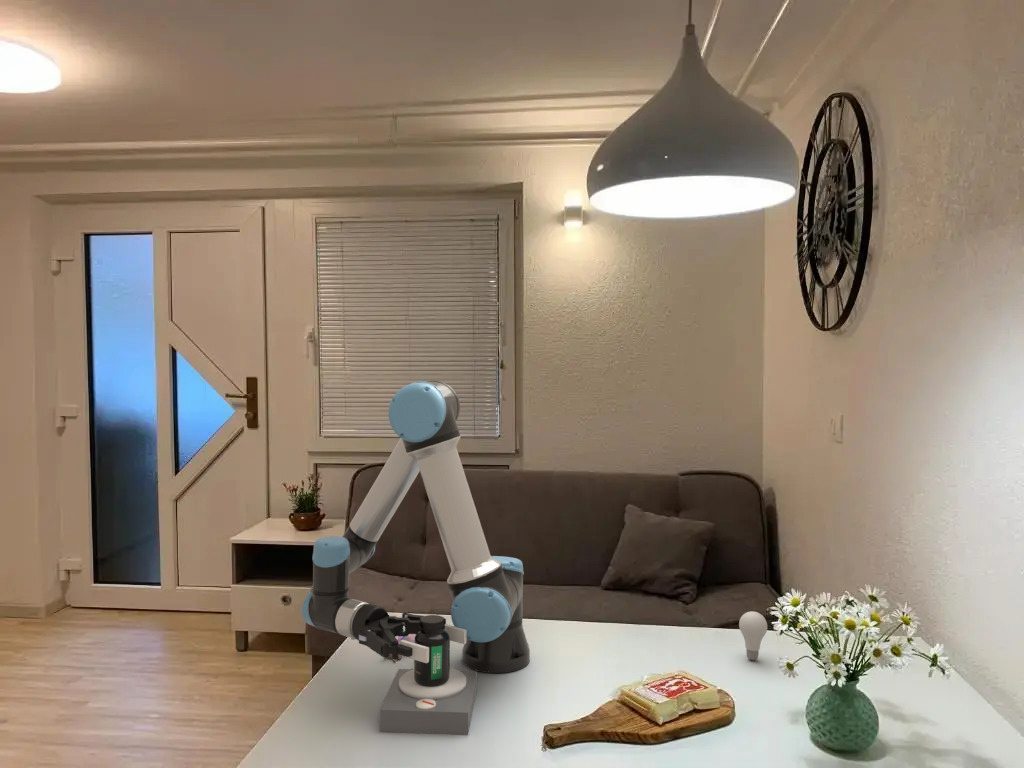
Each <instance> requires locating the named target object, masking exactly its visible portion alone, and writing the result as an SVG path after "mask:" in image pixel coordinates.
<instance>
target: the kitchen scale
mask: <svg viewBox="0 0 1024 768" xmlns="http://www.w3.org/2000/svg"><path fill="white" fill-rule="evenodd" d="M477 676H478V671H477V670H458V669H455V668H453V667H450V672H449V680H448V681H447V682H446V683H445V684H443V685H440V686H436V687H425V686H421V685H419V684H417V683H416V682H415V680H414V668H413V669H412V668H411V669H409V668H398V669H397V672H396V673H395V676H394V678H393V680H392V683H391V685H390V687H389V689H388V691H387V693H386V695H385V698H384V700H383V702H382V703H381V707H380V709H379V733H381V732H382V733H408V734H409V733H412V734H413V733H414V734H415V733H416V734H439V735H443V734H444V735H469V733H470V726H471V721H472V716H473V712H474V711H473V710H474V705H475V701H476V696H477V689H478V686H477V685H478V683H477V682H478V677H477Z"/></svg>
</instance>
